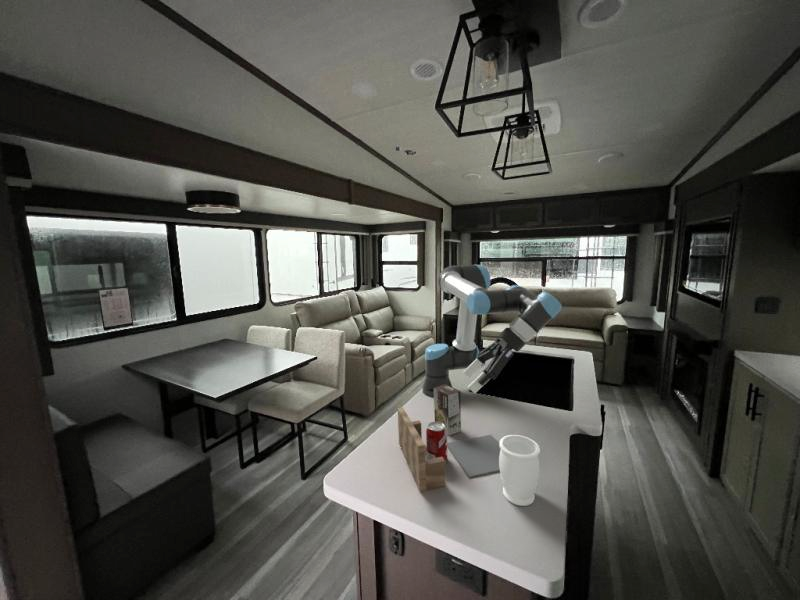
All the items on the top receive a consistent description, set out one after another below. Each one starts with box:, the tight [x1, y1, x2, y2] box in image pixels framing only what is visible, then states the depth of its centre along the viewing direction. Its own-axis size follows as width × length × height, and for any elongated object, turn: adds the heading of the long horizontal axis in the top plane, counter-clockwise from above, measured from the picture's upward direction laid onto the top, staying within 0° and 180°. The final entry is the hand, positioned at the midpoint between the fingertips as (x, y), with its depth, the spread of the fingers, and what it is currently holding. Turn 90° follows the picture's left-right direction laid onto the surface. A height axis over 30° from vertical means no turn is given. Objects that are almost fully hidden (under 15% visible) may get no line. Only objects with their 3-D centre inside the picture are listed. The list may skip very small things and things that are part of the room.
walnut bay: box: [397, 407, 447, 493], centre depth 100 cm, size 24×8×14 cm, turn 14°
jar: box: [498, 434, 541, 507], centre depth 85 cm, size 11×10×15 cm
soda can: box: [425, 421, 448, 463], centre depth 102 cm, size 7×7×12 cm
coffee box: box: [433, 384, 462, 436], centre depth 121 cm, size 9×6×16 cm
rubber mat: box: [447, 434, 501, 479], centre depth 104 cm, size 18×18×1 cm
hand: (468, 381), depth 99 cm, fingers open, 13 cm apart
